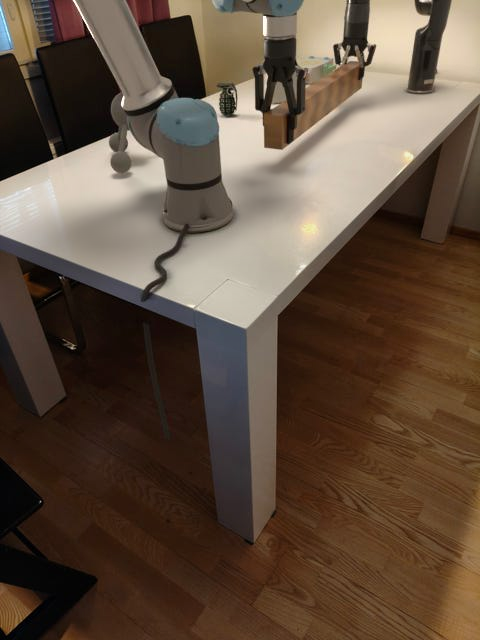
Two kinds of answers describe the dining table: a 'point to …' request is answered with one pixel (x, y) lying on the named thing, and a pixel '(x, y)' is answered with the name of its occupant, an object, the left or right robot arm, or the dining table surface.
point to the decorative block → (316, 67)
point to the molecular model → (119, 137)
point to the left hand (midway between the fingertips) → (279, 140)
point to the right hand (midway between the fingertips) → (351, 79)
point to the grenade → (227, 99)
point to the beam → (312, 104)
